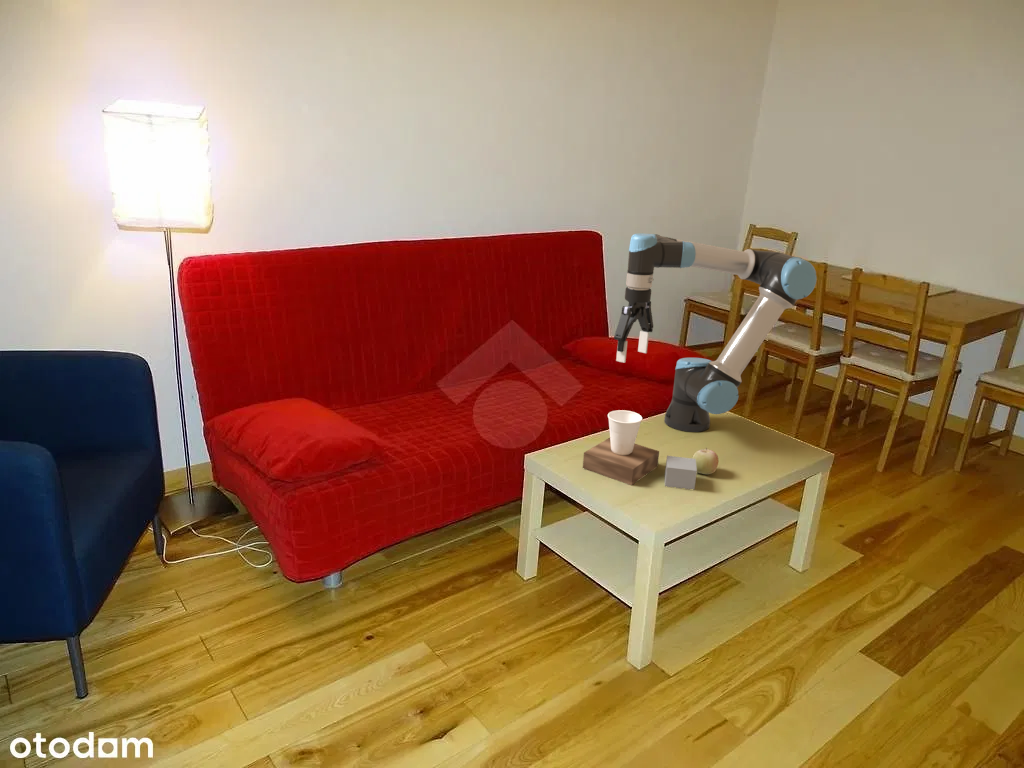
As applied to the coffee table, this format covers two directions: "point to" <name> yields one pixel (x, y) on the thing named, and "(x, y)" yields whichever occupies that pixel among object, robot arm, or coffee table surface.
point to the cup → (623, 430)
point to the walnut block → (621, 462)
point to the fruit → (706, 461)
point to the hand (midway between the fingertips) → (631, 356)
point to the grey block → (680, 472)
